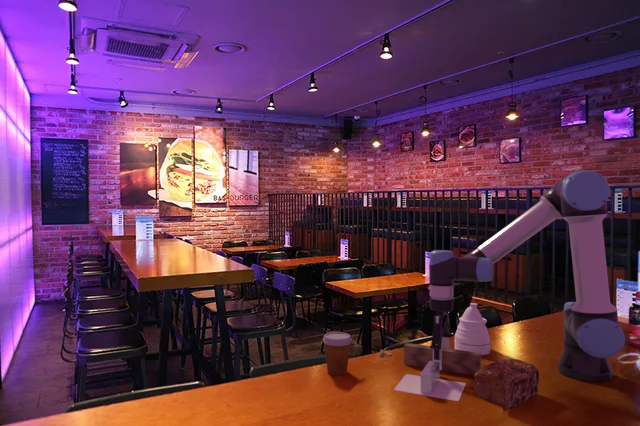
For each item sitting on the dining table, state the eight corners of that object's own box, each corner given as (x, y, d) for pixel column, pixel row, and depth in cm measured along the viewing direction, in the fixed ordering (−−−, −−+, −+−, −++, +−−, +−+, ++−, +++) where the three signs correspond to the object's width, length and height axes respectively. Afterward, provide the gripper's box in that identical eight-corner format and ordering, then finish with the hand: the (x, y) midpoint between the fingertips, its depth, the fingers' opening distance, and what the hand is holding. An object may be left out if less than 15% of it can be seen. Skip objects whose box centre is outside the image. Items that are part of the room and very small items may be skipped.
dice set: (391, 360, 160) (391, 355, 160) (377, 358, 162) (377, 353, 162) (394, 356, 165) (394, 350, 165) (380, 354, 167) (380, 349, 167)
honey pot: (495, 355, 164) (495, 306, 164) (460, 355, 164) (460, 306, 164) (483, 345, 176) (483, 299, 176) (450, 344, 177) (450, 299, 177)
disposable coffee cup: (355, 369, 149) (355, 333, 149) (345, 379, 140) (345, 341, 140) (329, 365, 153) (329, 330, 153) (317, 374, 144) (317, 337, 144)
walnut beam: (480, 378, 142) (480, 352, 142) (479, 381, 139) (479, 355, 139) (406, 366, 152) (406, 343, 152) (404, 369, 150) (404, 345, 150)
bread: (506, 413, 117) (506, 375, 117) (470, 399, 125) (470, 364, 125) (541, 395, 128) (541, 360, 128) (506, 384, 137) (506, 351, 137)
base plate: (465, 388, 133) (465, 383, 133) (458, 406, 120) (458, 401, 120) (406, 378, 141) (406, 373, 141) (393, 395, 128) (393, 389, 128)
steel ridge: (439, 380, 135) (439, 362, 135) (431, 394, 124) (431, 375, 124) (429, 378, 136) (429, 360, 136) (420, 393, 126) (420, 373, 126)
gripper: (437, 290, 159) (437, 350, 159) (421, 303, 136) (421, 373, 136) (459, 292, 155) (459, 353, 155) (446, 306, 133) (446, 377, 133)
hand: (441, 362), depth 146 cm, fingers open, 13 cm apart
